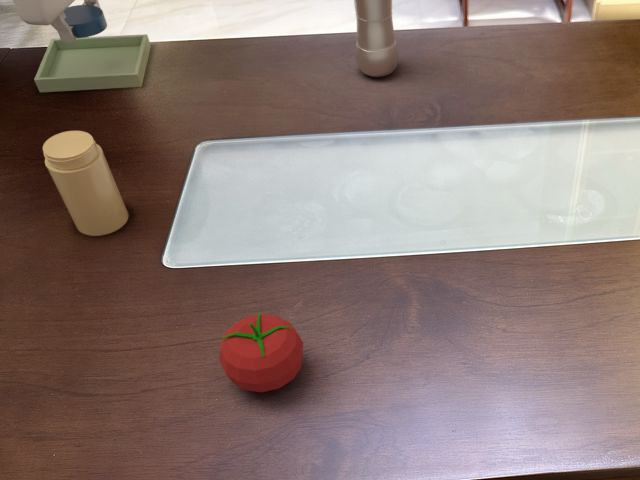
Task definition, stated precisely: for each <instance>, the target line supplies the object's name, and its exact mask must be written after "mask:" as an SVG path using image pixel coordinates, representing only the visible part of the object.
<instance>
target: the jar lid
mask: <svg viewBox="0 0 640 480" xmlns="http://www.w3.org/2000/svg"><path fill="white" fill-rule="evenodd" d="M100 8H101V7H100ZM100 8H99V7H96V6H92V5H82V4H77V5H70V6H69V7H68V8H67V9H66V10H65V11H64V13H65V16H66V18H65V19H64V20H65V21H66V22H67V24H68V25H69V26H74V28H75V30H76V33H77V35H78V36H77V38H84V37H95V36H97V35H99V34H101V33H102V32H104V31H106V29H107V27H108V22H107V20H106V16H105V14H104V11H103V9H102V8H101V9H100Z"/></svg>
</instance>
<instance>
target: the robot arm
mask: <svg viewBox="0 0 640 480" xmlns="http://www.w3.org/2000/svg"><path fill="white" fill-rule="evenodd" d="M75 1H76V0H12V3H13V5H14V9H15V10H16V13H17V15H18V17H19V19H20V20H21V21H22V22H24V23H25V24H27V25H30V26H31V25H33V26H46V27H47V26H51V27H52V28H53V29H54V30H56V31H57V34H58V37H59V39H61V40H62V41H63V42H67V43H72V42H73V41H74V40H75V39H76V38H77V36H78V35H77V33H76V30H75V28H74V26H69V25H68V24H67V22H66V21H65V20H64V19H65V18H66V16H65V13H64V11H65V10H66V9H67V8H68V7H71V6H72V4H73V3H74V2H75ZM81 5H92V6H96V7H99V8H100V9H102V8H101V5H100V2H99V0H83V3H82V4H81Z"/></svg>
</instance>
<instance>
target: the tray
mask: <svg viewBox="0 0 640 480" xmlns="http://www.w3.org/2000/svg"><path fill="white" fill-rule="evenodd" d="M151 48H152V45H151V42H150V39H149V35H148V34H126V35H125V34H123V35H106V36H105V35H103V36H90V37H84V38H76V39H75V40H74V41H73V42H72V43H67V42H63V41H62V40H61V39H60V38H50V41H49V43H48V45H47V48H46V50H45V53H44V55H43V57H42V60H41V62H40V64H39V67H38V70H37V72H36V74H35V76H34V79H33V80H34V84H35V85H36V87H37V89H38V91H39V93H56V92H73V91H74V92H75V91H90V90H93V91H94V90H108V89H110V90H111V89H127V88H141V87H143V82H144V79H145V75H146V71H147V65H148V61H149V58H150V53H151Z"/></svg>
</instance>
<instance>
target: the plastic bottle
mask: <svg viewBox="0 0 640 480" xmlns="http://www.w3.org/2000/svg"><path fill="white" fill-rule="evenodd" d="M353 5H354V11H355V18H356V43H355V60H356V64H357V67H358V69H359V70H360V71H361V73H363V74H364V75H366V76H369V77H374V78H380V77H381V78H382V77H385V76H389V75H391V74H392V73H393V72H394V71H395V70H396V68H397V66H398V63H399V50H398V44H397V41H396V36H395V30H394V22H393V20H394V19H393V0H353Z"/></svg>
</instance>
